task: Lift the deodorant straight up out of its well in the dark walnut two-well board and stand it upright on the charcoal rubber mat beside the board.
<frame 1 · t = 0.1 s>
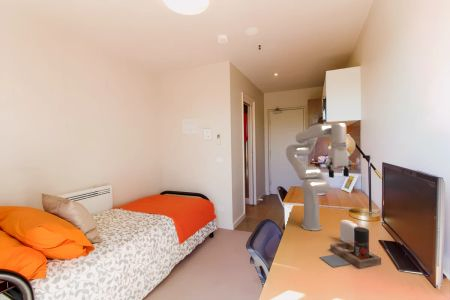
hand: (338, 176, 121), 37 cm above the table, tool pointing down, fingers open, 9 cm apart
photo printer: (349, 243, 122), on the table
mat: (334, 261, 104), on the table
deodorant: (361, 261, 103), resting in well board
well board: (354, 256, 107), on the table
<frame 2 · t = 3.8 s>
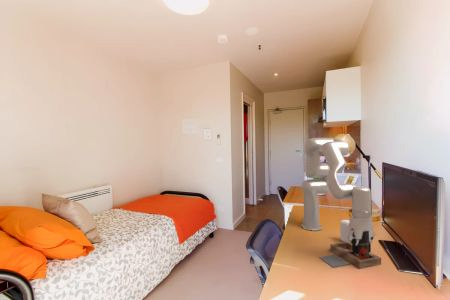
hand: (361, 251, 103), 5 cm above the table, tool pointing down, fingers closed on deodorant, 6 cm apart
deodorant: (361, 261, 103), resting in well board, touching gripper
everything else where it was.
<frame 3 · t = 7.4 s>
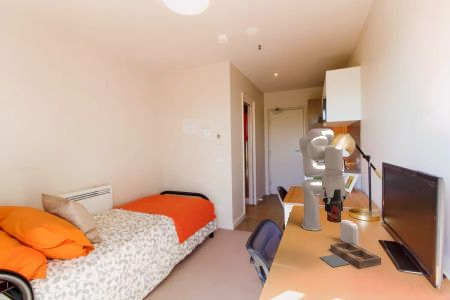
hand: (333, 210, 103), 24 cm above the table, tool pointing down, fingers closed on deodorant, 6 cm apart
deodorant: (334, 221, 103), point 19 cm above the table, touching gripper
everything else where it was.
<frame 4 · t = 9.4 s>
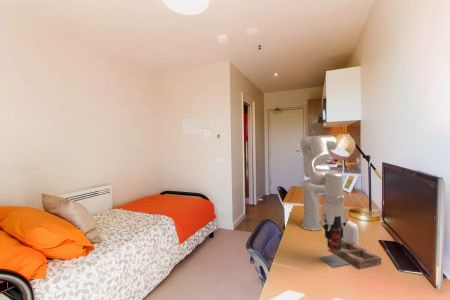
hand: (334, 237, 103), 11 cm above the table, tool pointing down, fingers closed on deodorant, 6 cm apart
deodorant: (334, 247, 103), point 7 cm above the table, touching gripper
everything else where it was.
when the fingers open (7 cm above the table, at t = 10.9 s): deodorant drops 2 cm, resting on mat.
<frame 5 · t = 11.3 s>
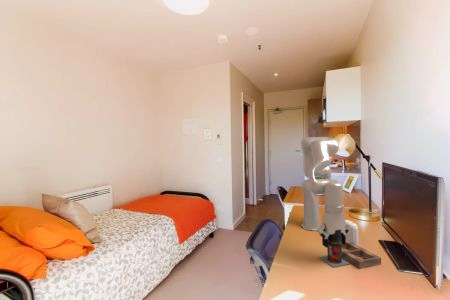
hand: (334, 244, 103), 8 cm above the table, tool pointing down, fingers open, 9 cm apart
deodorant: (334, 260, 104), resting on mat
everything else where it was.
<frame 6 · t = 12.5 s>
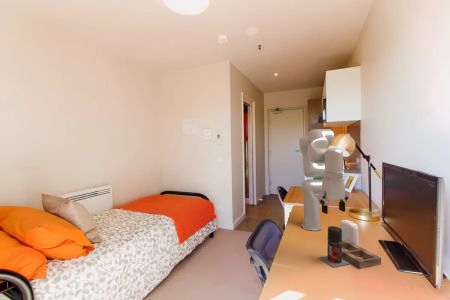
hand: (333, 211, 103), 23 cm above the table, tool pointing down, fingers open, 9 cm apart
nothing on the table moved.
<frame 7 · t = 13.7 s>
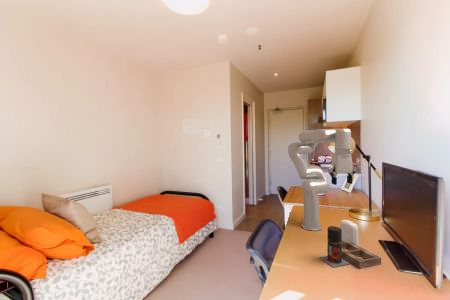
hand: (341, 183, 119), 33 cm above the table, tool pointing down, fingers open, 9 cm apart
nothing on the table moved.
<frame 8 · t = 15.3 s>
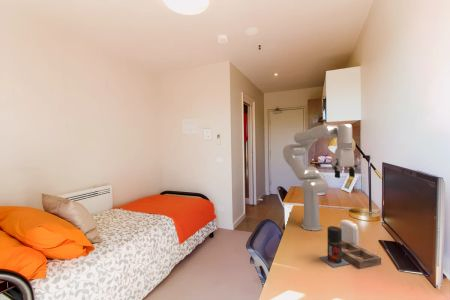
hand: (344, 177, 123), 36 cm above the table, tool pointing down, fingers open, 9 cm apart
nothing on the table moved.
at the end: deodorant inside the target area on the mat (0.2 cm from its centre), point 0.2 cm above the mat's base; deodorant tilted 0°; the gripper is holding nothing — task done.
